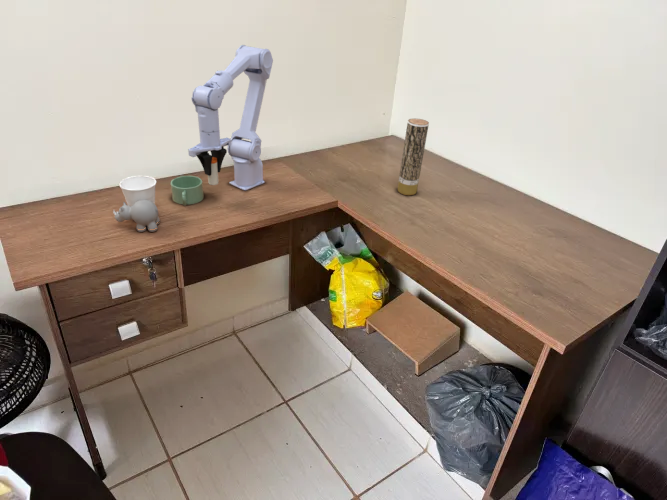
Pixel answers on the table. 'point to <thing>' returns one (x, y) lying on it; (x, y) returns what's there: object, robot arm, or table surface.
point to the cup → (138, 189)
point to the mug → (187, 190)
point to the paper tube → (412, 156)
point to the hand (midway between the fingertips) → (212, 172)
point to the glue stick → (213, 173)
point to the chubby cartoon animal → (139, 214)
